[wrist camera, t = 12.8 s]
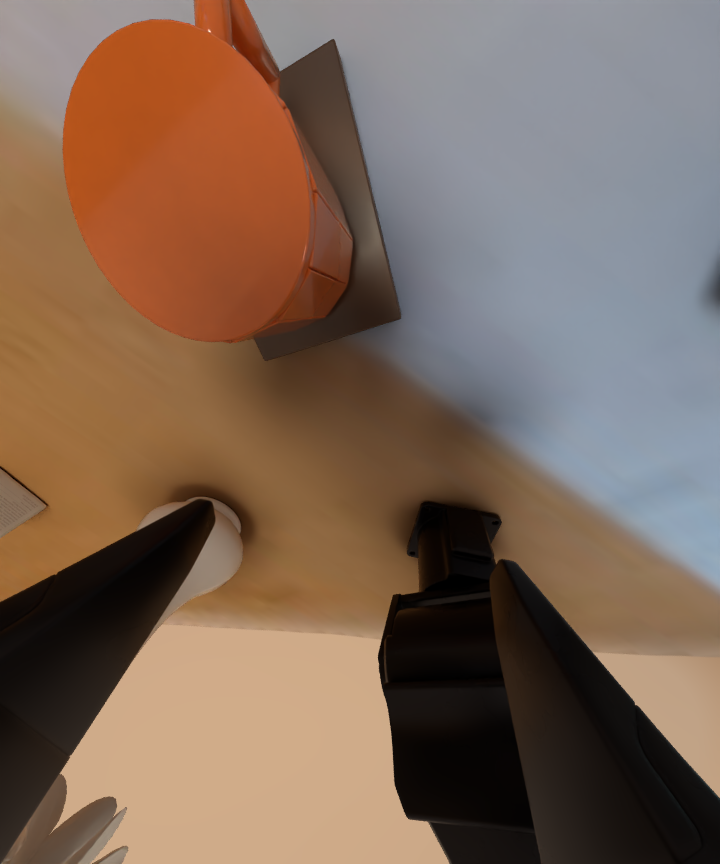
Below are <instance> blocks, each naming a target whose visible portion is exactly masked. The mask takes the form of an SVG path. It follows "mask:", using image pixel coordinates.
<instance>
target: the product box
mask: <svg viewBox="0 0 720 864" xmlns="http://www.w3.org/2000/svg"><path fill="white" fill-rule="evenodd" d="M46 507H47V506H46V505H45V504H44V503H43V502H42V501H40V500H39V499H38V498H37V497H36V496H34V495H33V494H32V493H31V492H29V491H28V490H27V489H25V488H24V487H23V486H21V485H20V484H19V483H18V482H16V481H15V480H14V479H13V478H11V477H10V476H9V475H8V474H7V473H6V472H4V471H3V470H2V469H0V538H1V537H3V536H4V535H6V534H7V533H9V532H10V531H12V530H13V529H15V528H16V527H18V526H19V525H21V524H22V523H24V522H25V521H27V520H28V519H30V518H31V517H33V516H34V515H36V514H37V513H39V512H40V511H42V510H43V509H45V508H46Z"/></svg>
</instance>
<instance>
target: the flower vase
mask: <svg viewBox="0 0 720 864" xmlns="http://www.w3.org/2000/svg"><path fill="white" fill-rule="evenodd" d="M196 499H206V500H210V501H212V503H213V506H214V512H215V517H216V521H215V525H214V527H213V529H212V531H211V533H210V535H209V537H208V539H207V541H206V543H205V545H204V547H203V548H202V550H201V552H200V554H199V556H198V558H197V560H196V562H195V564H194V566H193V568H192V569H191V571H190V573H189V574H188V576H187V578H186V579H185V581H184V582H183V584H182V585H181V587H180V589H179V590H178V592H177V593H176V595H175V596H174V598H173V599H172V601H171V602H170V604H169V605H168V607H167V609H166V610H165V612H164V613H163V615H162V616H161V618H160V619H159V621H158V622H157V624H156V625H155V627H154V629H153V630H152V632H151V633H150V635H149V636H148V638H147V639H146V641H145V642H144V644H143V646H144V645H145V644H146V642H147V641H148V640H149V639H150V637H151V636H152V635H153V634H154V633H155V631H156V630H157V629H158V628H159V627H160V626H161V625H162V624H163V622H164V621H165V620H166V619H168V618H169V617H170V616H171V615H172V614H173V613H174V612H175V611H177V610H178V609H179V608H180V607H182V606H183V605H184V604H186V603H187V602H188V601H190V600H191V599H193V598H195V597H198V596H201V595H204V594H207V593H209V592H211V591H213V590H216V589H218V588H219V587H221V586H223V585H224V584H225V583H226V582H227V581H228V580H229V579H230V578H231V577H232V576H233V575H234V574H235V573H236V572H237V571H238V569H239V568H240V565H241V562H242V559H243V544H242V538H241V536H240V532H241V523H240V521H239V518H238V516H237V515H236V514H235V513H234V511H233V510H232V509H230V508H229V507H228V506H227V505H225V504H224V503H222V502H220V501H218V500H215V499H213V498H208V497H194V498H190V499H188V500H187V501H178V502H172V503H168V504H165V505H161V506H158V507H156V508H155V509H153V510H152V511H150V512H149V513H148V514H147V515H145V516H144V518H143V519H142V520H141V522H140V523H139V525H138V527H137V529H136V531H137V530H139V529H141V528H143V527H145V526H147V525H149V524H151V523H153V522H154V521H156V520H158V519H160V518H162V517H164V516H166V515H168V514H170V513H171V512H173V511H175V510H177V509H179V508H181V507H183V506H185V505H187V504H189V503H190V502H192V501H194V500H196ZM143 646H142V647H143ZM142 647H141V649H142ZM141 649H140V650H141ZM140 650H139V652H140ZM139 652H138V653H139ZM138 653H137V654H138ZM135 657H136V656H135ZM133 660H134V659H133ZM66 789H67V785H66V780H65V778H64V776H63V775H62V774H59V775H58V777H57V778H56V780H55V781H54V783H53V785H52V786H51V788H50V789H49V791H48V792H47V794H46V795H45V797H44V798H43V800H42V801H41V803H40V805H39V806H38V808H37V809H36V811H35V812H34V814H33V815H32V817H31V818H30V820H29V821H28V823H27V825H26V826H25V828H24V829H23V831H22V832H21V834H20V835H19V837H18V838H17V840H16V841H15V843H14V845H13V846H12V848H11V849H10V851H9V852H8V854H7V855H6V857H5V858H4V860H3V861H2V863H1V864H89V863H90V862H92V860H94V859H95V857H96V856H97V855H98V854H99V852H100V851H101V850H102V849H103V848H104V847H105V845H106V844H107V842H108V841H109V840H110V838H111V837H112V836H113V834H114V832H115V830H116V829H117V828H118V826H119V824H120V822H121V821H122V819H123V817H124V815H125V813H126V810H127V808H126V807H125V808H124V809H123V810H121V811H120V812H119V813H118V814H116V815H115V816H114V814H115V812H116V808H117V804H116V799H115V798H114V797H104V798H102V799H98V800H96V801H94V802H92V803H90V804H89V805H87V806H86V807H84V808H82V809H81V810H80V811H78V812H77V813H76V814H74V815H73V816H71V817H70V818H69V819H68V820H66V821H65V822H64V823H63V824H61V825H60V826H59V827H58V828H56V829H55V830H54V831H53V832H52V830H53V829H54V827H55V826H56V824H57V823H58V821H59V819H60V817H61V814H62V812H63V808H64V804H65V801H66V794H67V790H66ZM113 816H114V817H113ZM51 832H52V833H51ZM50 833H51V834H50ZM49 834H50V835H49ZM127 851H128V847H127V846H122V847H120V848H118V849H116V850H114V851H112V852H110V853H109V854H107V855H106V856H104V857H103V858H101V859H100V860H98V861H96V862H94V863H92V864H121V863H122V862H123V860H124V857H125V855H126V853H127Z"/></svg>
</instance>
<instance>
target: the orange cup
mask: <svg viewBox="0 0 720 864" xmlns="http://www.w3.org/2000/svg"><path fill="white" fill-rule="evenodd" d="M194 15H195V26H194V25H191V24H188V23H184V22H179V21H174V20H155V19H151V20H146V21H141V22H137V23H132V24H130V25H128V26H126V27H124V28H121V29H119V30H117V31H115V32H114V33H113V34H111V35H110V36H109V37H107V38H106V39H105V40H103V41H102V42H101V43H100V44H99V45H98V46H97V48H96V49H95V50H94V51H93V52H92V53H91V54H90V55H89V57H88V58H87V60H86V62H85V63H84V65H83V66H82V68H81V69H80V71H79V73H78V76H77V78H76V80H75V83H74V85H73V87H72V90H71V93H70V97H69V101H68V104H67V108H66V114H65V121H64V128H63V161H64V173H65V179H66V185H67V191H68V195H69V199H70V202H71V206H72V210H73V213H74V216H75V219H76V221H77V224H78V227H79V230H80V232H81V234H82V237H83V239H84V241H85V243H86V245H87V247H88V249H89V251H90V253H91V255H92V256H93V258H94V260H95V262H96V264H97V265H98V267H99V268H100V270H101V271H102V272H103V274H104V275H105V277H106V278H107V280H108V281H109V282H110V283H111V285H112V286H113V287H114V288H115V290H116V291H117V292H118V293H119V294H120V295H121V296H122V297H123V298H124V299H125V300H126V301H127V302H128V303H129V304H130V305H131V306H132V307H133V308H134V309H135V310H137V311H138V312H139V313H140V314H141V315H143V316H144V317H145V318H147V319H148V320H150V321H151V322H153V323H154V324H156V325H157V326H159V327H161V328H163V329H165V330H167V331H169V332H171V333H174V334H176V335H179V336H181V337H184V338H188V339H192V340H196V341H205V342H226V343H237V342H241V341H246V340H251V339H255V338H260V337H265V336H269V335H274V334H279V333H284V332H288V331H293V330H297V329H300V328H302V327H304V326H306V325H309V324H311V323H313V322H316V321H318V320H320V319H322V318H325V316H327V315H328V314H329V312H330V311H331V309H332V308H333V306H334V305H335V303H336V302H337V300H338V299H339V298H340V296H341V295H342V293H343V292H344V290H345V289H346V287H347V285H346V284H348V281H349V272H350V264H351V255H352V247H353V242H352V236H351V233H350V230H349V227H348V224H347V221H346V218H345V216H344V213H343V210H342V207H341V204H340V201H339V198H338V196H337V194H336V193H335V191H334V189H333V187H332V186H331V184H330V182H329V180H328V178H327V177H326V175H325V173H324V171H323V169H322V168H321V166H320V164H319V162H318V161H317V159H316V157H315V155H314V153H313V152H312V150H311V148H310V146H309V144H308V143H307V141H306V139H305V137H304V135H303V134H302V132H301V130H300V128H299V127H298V125H297V123H296V121H295V119H294V118H293V116H292V114H291V112H290V110H289V109H288V107H287V106H286V104H285V102H284V101H283V100H282V99H281V98H280V83H281V78H280V71H279V68H278V66H277V64H276V62H275V60H274V58H273V56H272V54H271V52H270V50H269V48H268V46H267V44H266V42H265V40H264V38H263V36H262V34H261V32H260V30H259V28H258V26H257V24H256V22H255V20H254V18H253V16H252V14H251V12H250V10H249V8H248V6H247V4H246V2H245V0H194ZM233 46H234V48H235V49H236V50H235V49H234V48H233Z"/></svg>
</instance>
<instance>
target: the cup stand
mask: <svg viewBox="0 0 720 864" xmlns="http://www.w3.org/2000/svg"><path fill="white" fill-rule="evenodd" d="M280 78H281V83H280V98H281V99H282V100H283V101H284V102H285V104H286V106H287V107H288V109H289V110H290V112H291V114H292V116H293V118H294V119H295V121H296V123H297V125H298V127H299V128H300V130H301V132H302V134H303V135H304V137H305V139H306V141H307V143H308V144H309V146H310V148H311V150H312V152H313V153H314V155H315V157H316V159H317V161H318V162H319V164H320V166H321V168H322V169H323V171H324V173H325V175H326V177H327V178H328V180H329V182H330V184H331V186H332V187H333V189H334V191H335V193H336V194H337V196H338V198H339V201H340V204H341V207H342V210H343V213H344V216H345V218H346V221H347V224H348V227H349V230H350V233H351V236H352V242H353V247H352V255H351V264H350V272H349V281H348V284H346V285H347V287H346V289H345V290H344V292H343V293H342V295H341V296H340V298H339V299H338V300H337V302H336V303H335V305H334V306H333V308H332V309H331V311H330V312H329V314H328V315H327V316H325V318H322V319H320V320H318V321H316V322H313V323H311V324H309V325H306V326H304V327H302V328H300V329H297V330H293V331H288V332H284V333H279V334H274V335H269V336H265V337H260V338H255V341H256V343H257V345H258V348H259V350H260V352H261V354H262V356H263V358H264V360H265V361H268V360H271V359H274V358H278V357H281V356H284V355H287V354H290V353H294V352H297V351H300V350H303V349H306V348H309V347H313V346H316V345H319V344H322V343H325V342H329V341H332V340H335V339H338V338H341V337H345V336H348V335H351V334H354V333H357V332H360V331H364V330H367V329H370V328H373V327H376V326H380V325H383V324H386V323H389V322H392V321H396V320H399V319H401V311H400V307H399V302H398V298H397V294H396V290H395V286H394V281H393V277H392V273H391V269H390V265H389V260H388V256H387V252H386V248H385V244H384V239H383V235H382V231H381V227H380V222H379V218H378V214H377V210H376V206H375V201H374V197H373V193H372V189H371V185H370V180H369V176H368V172H367V168H366V164H365V159H364V155H363V151H362V147H361V143H360V138H359V134H358V130H357V126H356V121H355V117H354V113H353V109H352V105H351V100H350V96H349V92H348V88H347V84H346V79H345V75H344V71H343V67H342V63H341V58H340V55H339V52H338V49H337V46H336V42H335V40H334V39H332V40H330V41H329V42H327V43H326V44H324V45H322V46H321V47H319V48H317V49H316V50H314V51H313V52H311V53H309V54H308V55H306V56H305V57H303V58H301V59H300V60H298V61H296V62H295V63H293V64H292V65H290V66H288V67H287V68H285V69H284V70H282V71H280Z"/></svg>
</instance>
